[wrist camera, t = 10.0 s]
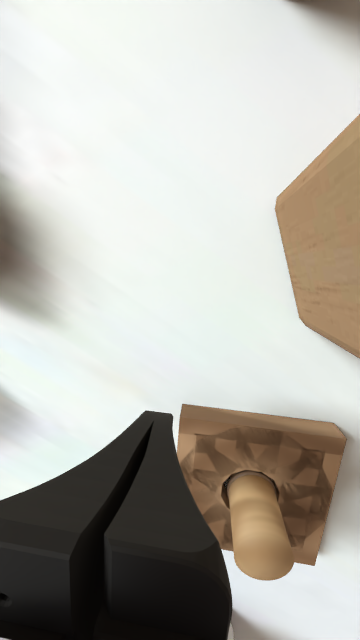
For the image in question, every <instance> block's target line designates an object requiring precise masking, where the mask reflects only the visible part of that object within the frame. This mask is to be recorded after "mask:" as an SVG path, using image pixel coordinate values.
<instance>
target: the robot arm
mask: <svg viewBox="0 0 360 640" xmlns="http://www.w3.org/2000/svg"><path fill="white" fill-rule="evenodd" d="M172 426H173V416H172V414H169V413H161V412H153V411H145V412H143V413H142V414H141V415H140V416H139V417H138V418H137V419H136V420H135V421H134V422H133V423H132V424H131V425H130V426H129V427H128V428H127V429H126V430H125V431H124V432H123V433H122V434H120V435H119V436H118V437H117V438H116V439H115V440H113V441H112V442H111V443H110V444H108V445H107V446H106V447H105V448H103V449H102V450H101V451H99V452H98V453H96V454H95V455H94V456H92V457H91V458H89V459H88V460H86V461H84V462H83V463H81V464H79V465H78V466H76V467H74V468H72V469H70V470H69V471H67V472H65V473H63V474H62V475H60V476H58V477H56V478H54V479H51V480H49V481H47V482H45V483H43V484H41V485H39V486H36V487H34V488H32V489H29V490H27V491H24V492H22V493H19V494H16V495H14V496H11V497H9V498H6V499H3V500H0V640H227V639H228V633H229V627H230V621H231V615H232V595H231V588H230V583H229V578H228V573H227V569H226V565H225V561H224V558H223V554H222V551H221V547H220V544H219V541H218V540H217V538H216V536H215V535H214V533H213V532H212V530H211V529H210V527H209V526H208V524H207V522H206V521H205V519H204V517H203V515H202V514H201V512H200V510H199V508H198V506H197V504H196V502H195V500H194V498H193V496H192V494H191V492H190V490H189V488H188V485H187V483H186V480H185V478H184V475H183V473H182V470H181V467H180V464H179V460H178V457H177V453H176V449H175V444H174V439H173V431H172Z"/></svg>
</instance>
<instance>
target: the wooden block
mask: <svg viewBox="0 0 360 640" xmlns="http://www.w3.org/2000/svg"><path fill="white" fill-rule="evenodd" d="M275 212H276V216H277V220H278V225H279V229H280V234H281V238H282V243H283V247H284V252H285V256H286V261H287V265H288V269H289V274H290V278H291V283H292V287H293V292H294V296H295V301H296V305H297V309H298V314H299V318H300V319H301V320H302V322H303V323H304V324H305V326H307V327H309V328H310V329H312V330H314V331H315V332H317V333H319V334H320V335H322V336H323V337H325V338H327V339H328V340H330V341H332V342H333V343H335V344H337V345H338V346H340V347H341V348H343V349H345V350H346V351H348V352H350V353H351V354H353V355H355V356H356V357H358V358H360V114H359V115H358V116H357V117H356V118H355V119H354V120H353V121H352V122H351V123H350V124H349V125H348V126H347V127H346V128H345V130H344V131H343V132H342V133H341V134H340V135H339V136H338V137H337V138H336V139H335V140H334V141H333V142H332V143H331V144H330V145H329V146H328V147H327V148H326V149H325V150H324V151H323V152H322V153H321V154H320V155H319V156H318V157H317V158H316V159H315V160H314V161H313V162H312V163H311V164H310V165H309V166H308V167H307V168H306V169H305V170H304V171H303V172H302V173H301V174H300V175H299V176H298V177H297V178H296V179H295V180H294V181H293V182H292V183H291V184H290V185H289V186H288V187H287V188H286V189H285V190H284V191H283V192H282V193H281V194H280V195H279V196H278V197H277V200H276V206H275Z"/></svg>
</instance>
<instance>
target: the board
mask: <svg viewBox="0 0 360 640" xmlns="http://www.w3.org/2000/svg"><path fill="white" fill-rule="evenodd" d="M346 440H347V439H346V438H345V436H344V435H343V434H342V433H341V431H340V430H339V429H338V428H337V426H336V425H335V424H334V423H329V422H322V421H314V420H306V419H298V418H290V417H282V416H274V415H266V414H258V413H250V412H242V411H234V410H226V409H219V408H211V407H203V406H195V405H187V404H182V409H181V414H180V422H179V435H178V447H177V457H178V460H179V464H180V467H181V470H182V473H183V475H184V478H185V480H186V483H187V485H188V488H189V490H190V492H191V494H192V496H193V498H194V500H195V502H196V504H197V506H198V508H199V510H200V512H201V514H202V515H203V517H204V519H205V521H206V522H207V524H208V526H209V527H210V529H211V530H212V532H213V533H214V535H215V536H216V538H217V540H218V541H219V544H220V547H221V549H223V550H229V551H234V549H233V538H232V527H231V515H230V504H229V498H228V495H227V488H225V486H224V484H223V483H224V482H225V480H226V479H227V478H228V477H229V476H230V475H231V474H233V473H237V472H240V471H243V470H251V471H258V472H262V473H264V474H265V475H267V476H268V477H270V478H271V479H273V480H272V482H273V484H274V487H275V490H276V498H277V501H278V505H279V508H280V512H281V515H282V518H283V522H284V525H285V529H286V532H287V535H288V539H289V542H290V546H291V549H292V552H293V556H294V562H296V563H302V564H307V565H313V566H315V562H316V558H317V554H318V550H319V546H320V542H321V538H322V535H323V531H324V527H325V523H326V519H327V515H328V511H329V507H330V503H331V499H332V495H333V491H334V487H335V483H336V479H337V475H338V471H339V467H340V464H341V460H342V456H343V452H344V448H345V444H346Z"/></svg>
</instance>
